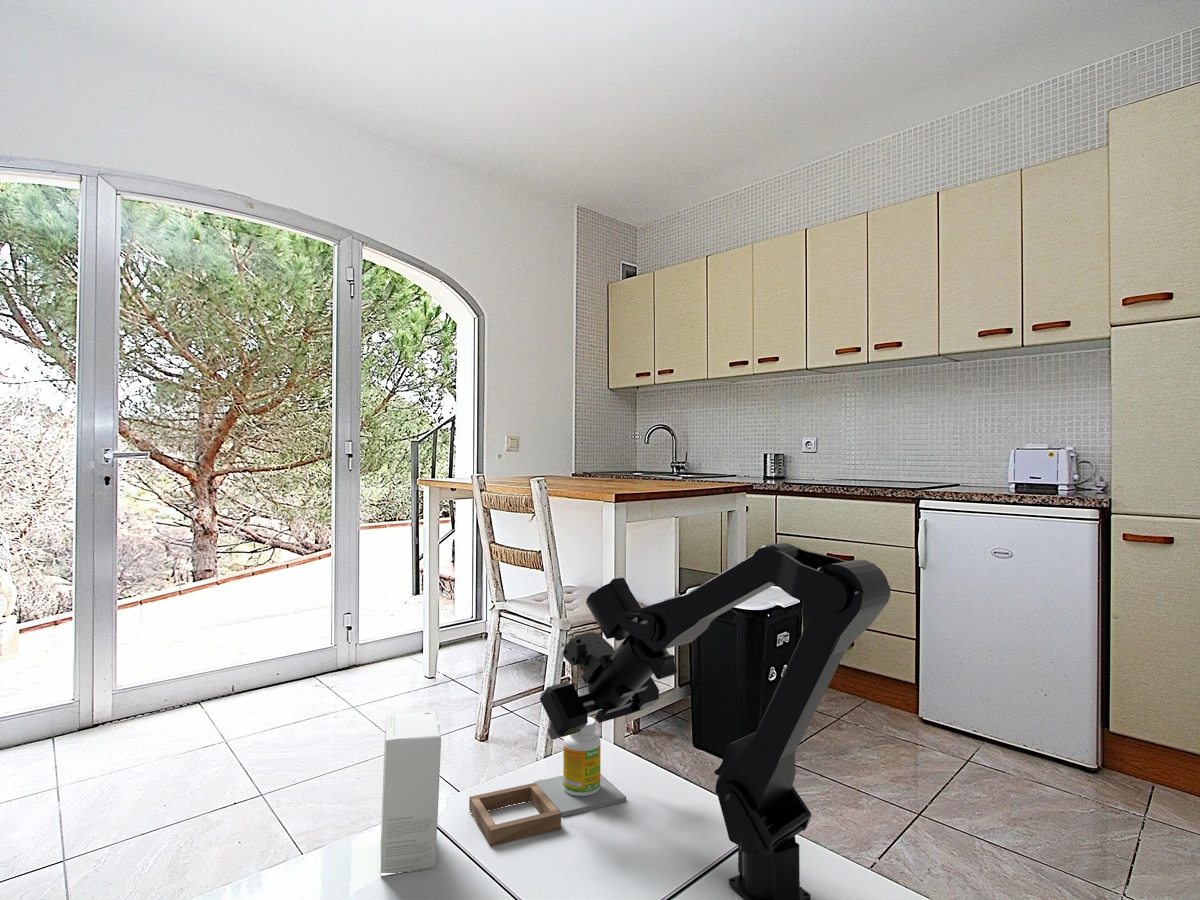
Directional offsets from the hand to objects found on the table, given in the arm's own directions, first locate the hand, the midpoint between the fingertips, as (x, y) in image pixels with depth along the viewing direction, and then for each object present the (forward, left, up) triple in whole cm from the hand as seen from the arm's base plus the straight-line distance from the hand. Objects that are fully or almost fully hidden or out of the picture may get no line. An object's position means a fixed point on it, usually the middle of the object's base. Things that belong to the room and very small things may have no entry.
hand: (574, 727), depth 96 cm
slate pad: (-1, 0, -9) cm, 9 cm away
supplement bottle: (-1, -1, -9) cm, 9 cm away
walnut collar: (-4, +11, -9) cm, 15 cm away
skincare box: (-6, +25, -9) cm, 27 cm away
